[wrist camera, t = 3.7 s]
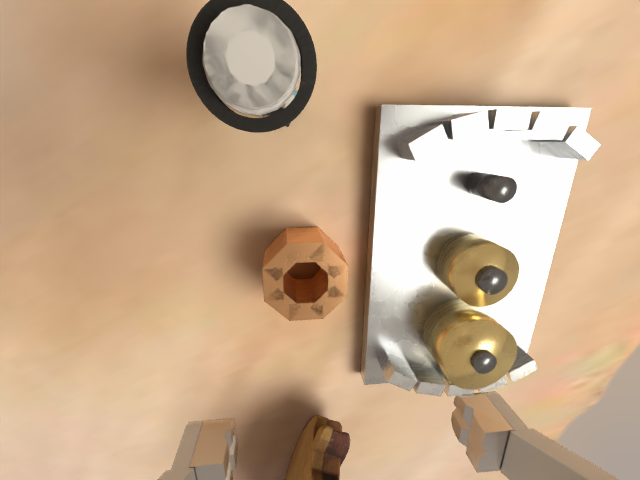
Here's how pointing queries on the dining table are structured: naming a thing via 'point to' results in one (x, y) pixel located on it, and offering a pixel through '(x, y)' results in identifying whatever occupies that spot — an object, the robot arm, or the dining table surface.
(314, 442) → the wooden carving
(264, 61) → the push button
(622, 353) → the dining table surface
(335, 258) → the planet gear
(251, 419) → the dining table surface
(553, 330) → the dining table surface
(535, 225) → the carrier
